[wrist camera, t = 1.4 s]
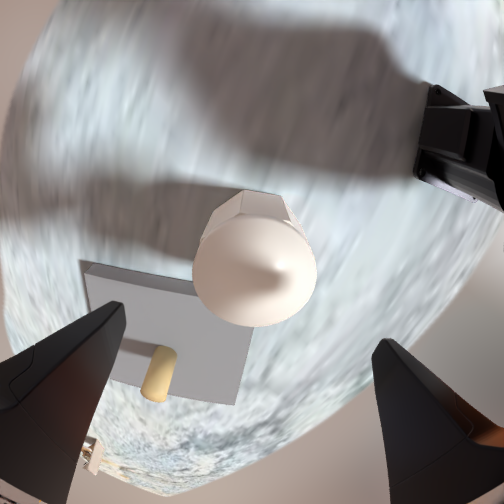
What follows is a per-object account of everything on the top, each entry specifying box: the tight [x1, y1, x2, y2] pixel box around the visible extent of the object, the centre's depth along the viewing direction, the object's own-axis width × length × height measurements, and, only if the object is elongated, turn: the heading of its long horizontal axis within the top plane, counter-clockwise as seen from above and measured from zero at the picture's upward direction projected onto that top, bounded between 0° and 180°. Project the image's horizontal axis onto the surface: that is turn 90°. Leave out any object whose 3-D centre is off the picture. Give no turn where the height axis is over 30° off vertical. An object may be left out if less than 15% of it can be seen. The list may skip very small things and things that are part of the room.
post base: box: [84, 263, 254, 405], centre depth 18 cm, size 12×12×6 cm
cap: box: [192, 190, 317, 327], centre depth 14 cm, size 5×5×5 cm
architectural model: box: [81, 439, 105, 476], centre depth 32 cm, size 3×7×7 cm, turn 169°
